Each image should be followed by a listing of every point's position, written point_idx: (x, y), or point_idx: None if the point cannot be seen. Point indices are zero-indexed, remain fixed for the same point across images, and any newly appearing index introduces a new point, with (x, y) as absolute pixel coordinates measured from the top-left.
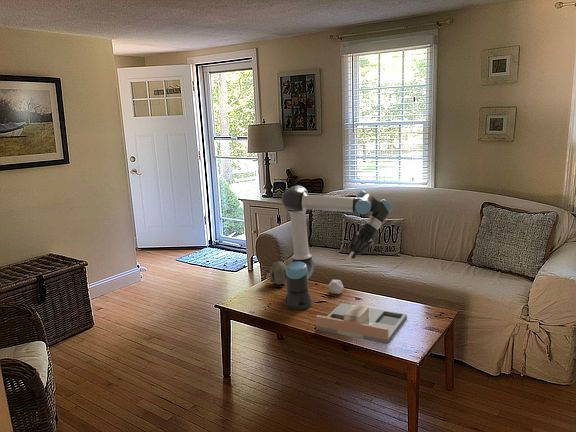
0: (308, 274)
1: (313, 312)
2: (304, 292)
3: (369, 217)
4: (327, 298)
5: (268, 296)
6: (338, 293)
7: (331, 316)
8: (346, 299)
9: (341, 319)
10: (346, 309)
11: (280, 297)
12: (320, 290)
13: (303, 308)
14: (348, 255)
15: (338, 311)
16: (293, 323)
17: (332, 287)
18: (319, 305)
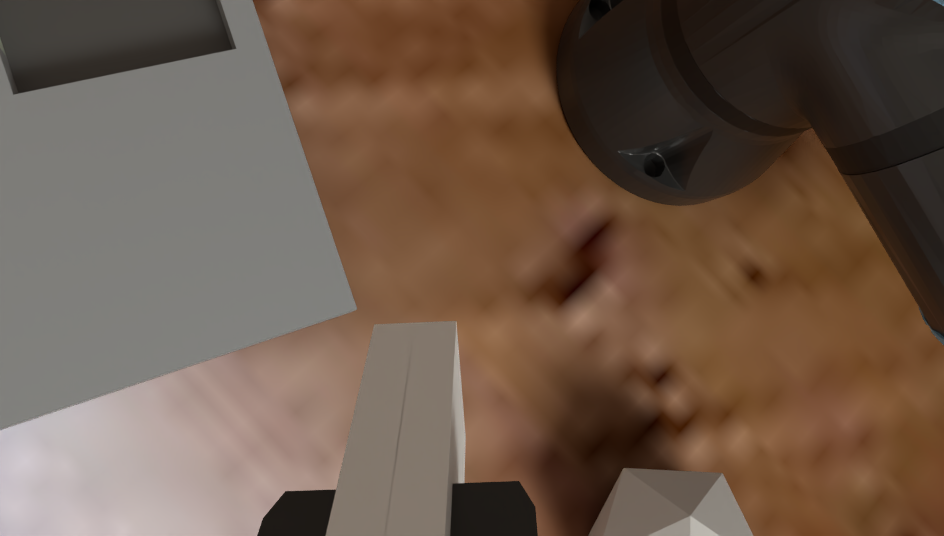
0: (846, 72)
1: (455, 39)
2: (662, 6)
3: None
4: (594, 368)
5: None
6: (594, 526)
7: (225, 22)
8: None
9: (112, 53)
10: (193, 216)
11: None
12: (775, 465)
13: (566, 27)
14: (486, 486)
15: (226, 122)
16: None
17: (663, 481)
18: (529, 192)
